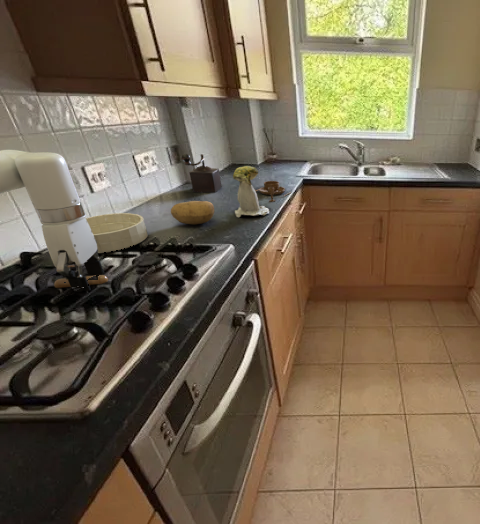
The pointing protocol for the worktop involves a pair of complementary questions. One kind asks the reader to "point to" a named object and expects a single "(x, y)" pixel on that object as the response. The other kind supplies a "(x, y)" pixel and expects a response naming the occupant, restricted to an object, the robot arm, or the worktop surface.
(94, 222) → the bowl
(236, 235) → the worktop surface
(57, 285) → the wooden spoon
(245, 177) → the vase of yellow flowers
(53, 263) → the robot arm
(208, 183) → the coffee grinder
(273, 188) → the place setting
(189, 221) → the potato
